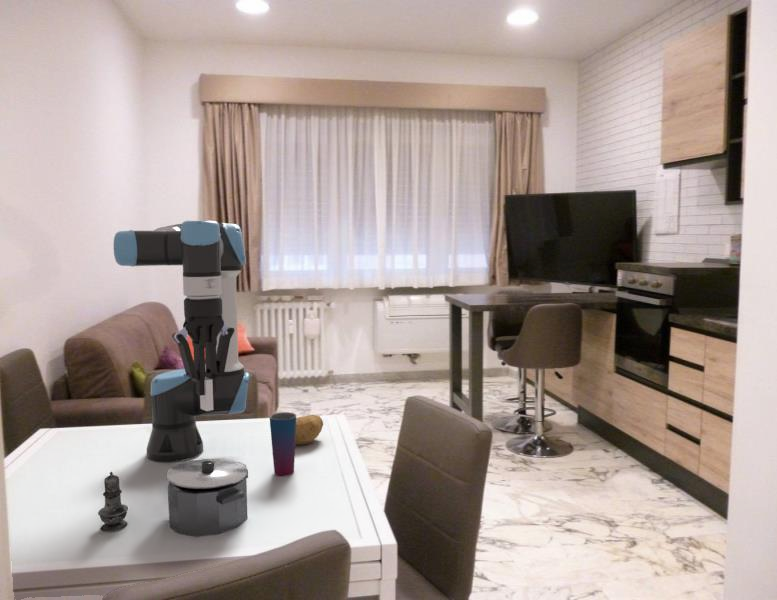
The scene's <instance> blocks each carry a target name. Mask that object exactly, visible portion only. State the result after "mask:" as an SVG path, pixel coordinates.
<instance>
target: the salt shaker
mask: <svg viewBox="0 0 777 600" xmlns="http://www.w3.org/2000/svg"><path fill="white" fill-rule="evenodd" d="M109 474H110V475H108V476H106V477H105V478H104V482H103V484H104V492H103V493H102V496H103V497H104V506H103V507H102V508H100V509H99V510H98V512H97V515H98V516H99V519H100V520H101V522H102V523H104V524H102V525H101V526H100V528H99V529H100V531H101V532H103V533H114V532H118V531H121V530H124V529H125V528H126V527H127V526H128V525H129V524H128V521H127V520H124V519H125V518H126V516H127V514H128V510H129V506H128V505H126V504H124V503H123V504H122V500H121V494H122V493H123V491H122V490H121V489H120V478H119V477H120V476H118V475H115V474H114V473H113V471H110V472H109Z"/></svg>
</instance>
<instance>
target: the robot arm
mask: <svg viewBox="0 0 777 600" xmlns="http://www.w3.org/2000/svg"><path fill="white" fill-rule="evenodd" d="M113 256H114V259H115V262H116V264H118V265H119V266H121V267H122V266H123V267H125V266H127V267H132V268H133V267H148V266H149V267H151V266H154V267H156V266H182V289H183V290H182V292H183V296H185V297H186V298H184V299H183V315H184V322H183V325H182V329H180V330H179V331H178V332H174V333H173V334H172V339H173V340H174V341H175V343H176V344H177V347H178V351H179V355H180V358H181V360H182V361H181V363H182V365H183V368H181V369H174V370H169V371H166V372H162V373H160V374H158V375H156V376H155V377H153V378H152V380H151V382H150V393H149V395H150V404H151V406H150V407H151V425H152V426H151V427H152V428H151V433H150V436H149V439H148V442H147V446H146V458H147V459H148V460H150V461H152V462H156V463H157V462H158V463H174V462H182V461H186V460H191V459H193V458H196V457H197V456H199V455H201V454H202V453H203V452H204V442H203V439H202V437H201V434H200V432H199V429H198V427H197V418H196V417H201V416H202V417H204V416H221V415H227V416H230V415H234V414H241V413H244V411H245V410H246V407H247V398H248V389H249V380H250V373H249V372H248V371H245V366H244V364H242V362H240V361H239V341H238V339H239V337H238V336H239V335H238V334H239V333H238V308H237V307H238V306H237V305H238V302H237V299H238V297H237V277H238V276H239V274H241V272H242V266H244V265H245V266H246V264H247V258H246V250H245V244H244V238H243V233H242V229H241V227H240V226H239V225H238V224H236V223H225V222H218V221H215V220H185V221H183V222H182V223H177V224H172V225H171V224H170V225H167V226H161V227H158V228H155V229H154V230H132V229H130V230H120V231H117V232H116V233H115V234H114V238H113ZM189 338H190V339H191V343H192V348H193V354H192V351H191V348H190V344H189V342H188V339H189Z"/></svg>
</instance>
